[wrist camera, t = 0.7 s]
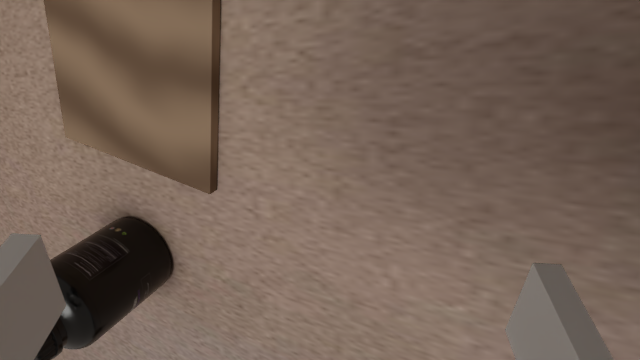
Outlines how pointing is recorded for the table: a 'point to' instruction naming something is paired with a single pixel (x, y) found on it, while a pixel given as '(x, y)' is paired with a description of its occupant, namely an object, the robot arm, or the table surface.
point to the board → (141, 81)
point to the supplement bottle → (105, 282)
